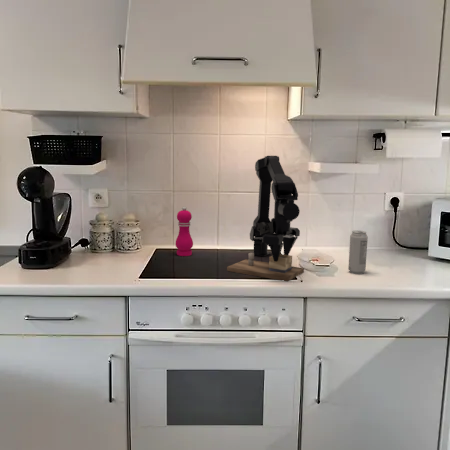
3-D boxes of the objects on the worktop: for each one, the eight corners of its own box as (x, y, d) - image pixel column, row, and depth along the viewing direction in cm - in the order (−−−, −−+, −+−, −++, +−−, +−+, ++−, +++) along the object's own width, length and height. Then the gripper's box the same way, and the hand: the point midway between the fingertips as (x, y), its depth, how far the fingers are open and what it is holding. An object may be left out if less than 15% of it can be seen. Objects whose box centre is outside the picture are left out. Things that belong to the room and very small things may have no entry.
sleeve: (276, 266, 178) (276, 253, 178) (291, 269, 175) (292, 255, 174) (269, 270, 173) (269, 256, 172) (284, 273, 170) (285, 259, 169)
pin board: (245, 262, 190) (246, 247, 189) (303, 272, 177) (304, 256, 176) (227, 270, 178) (227, 254, 177) (287, 281, 166) (288, 264, 164)
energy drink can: (354, 269, 182) (356, 229, 180) (368, 272, 178) (371, 232, 176) (344, 272, 178) (347, 231, 176) (359, 275, 174) (362, 234, 172)
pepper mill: (182, 257, 197) (181, 208, 194) (172, 254, 203) (171, 206, 199) (196, 254, 202) (196, 206, 198) (186, 251, 207) (186, 204, 204)
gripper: (273, 210, 183) (272, 251, 186) (249, 216, 167) (248, 261, 170) (301, 213, 177) (299, 255, 180) (278, 219, 161) (277, 265, 164)
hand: (280, 259), depth 174 cm, fingers open, 8 cm apart
